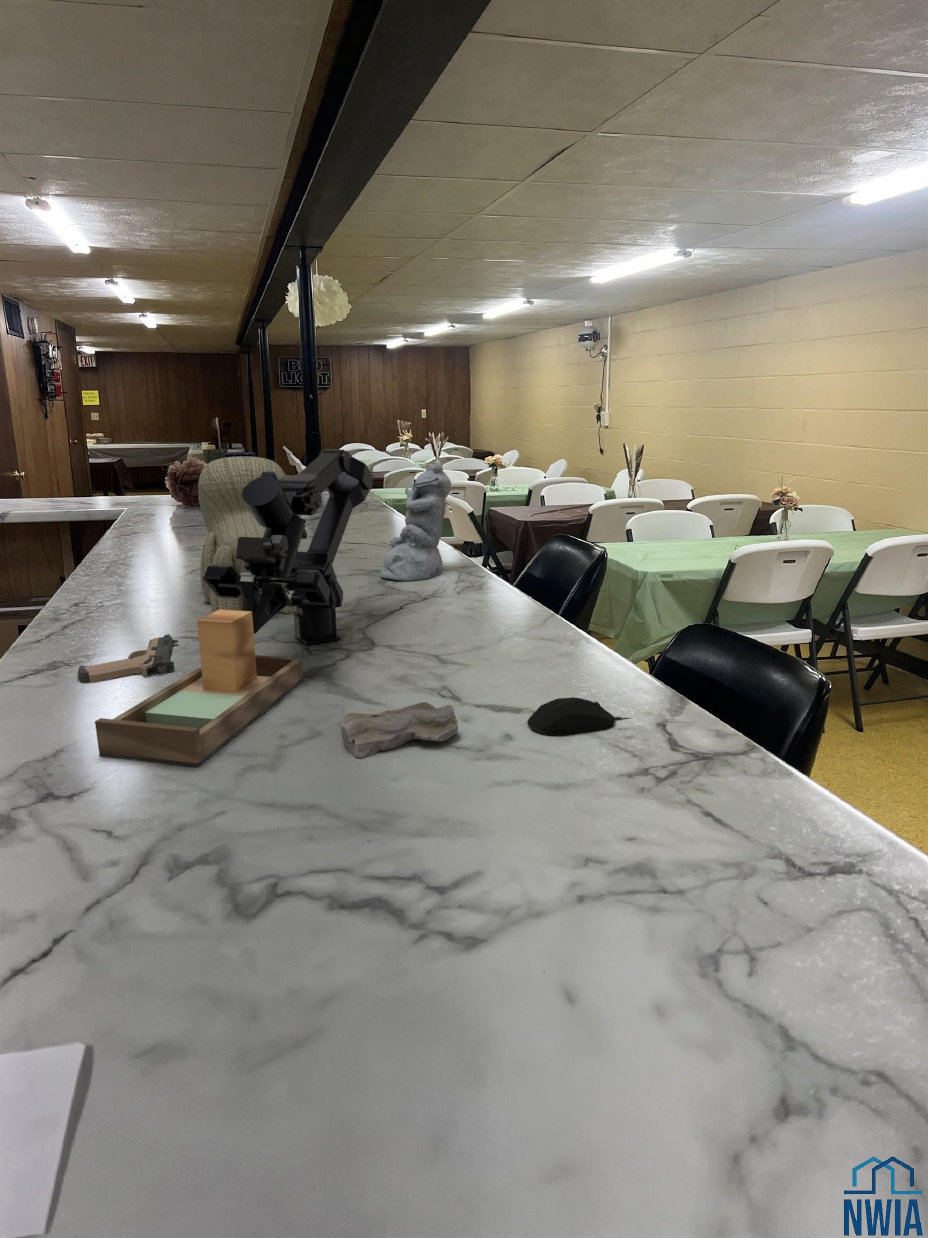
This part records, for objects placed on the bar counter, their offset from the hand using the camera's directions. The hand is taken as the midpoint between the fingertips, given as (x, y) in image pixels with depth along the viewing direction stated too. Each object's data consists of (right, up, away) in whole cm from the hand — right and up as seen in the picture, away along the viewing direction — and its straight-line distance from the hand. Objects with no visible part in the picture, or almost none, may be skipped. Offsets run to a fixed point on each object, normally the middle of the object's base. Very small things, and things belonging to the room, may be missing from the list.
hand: (251, 632), depth 114 cm
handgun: (-23, -6, +13) cm, 27 cm away
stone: (+23, -14, -16) cm, 31 cm away
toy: (-14, +6, +51) cm, 53 cm away
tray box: (-2, -11, -8) cm, 14 cm away
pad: (-3, -12, -12) cm, 17 cm away
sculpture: (+19, +13, +78) cm, 82 cm away
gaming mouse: (+47, -12, -12) cm, 50 cm away
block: (-1, -7, -5) cm, 9 cm away
